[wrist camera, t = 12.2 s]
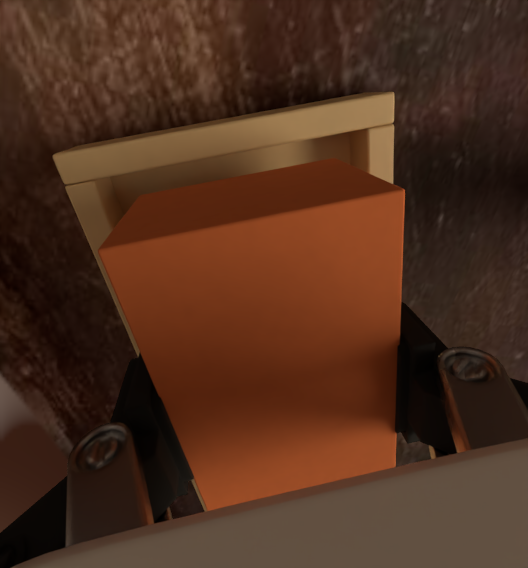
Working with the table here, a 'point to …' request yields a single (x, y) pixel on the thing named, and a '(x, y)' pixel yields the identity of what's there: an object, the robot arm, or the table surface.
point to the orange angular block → (269, 322)
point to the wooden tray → (222, 158)
